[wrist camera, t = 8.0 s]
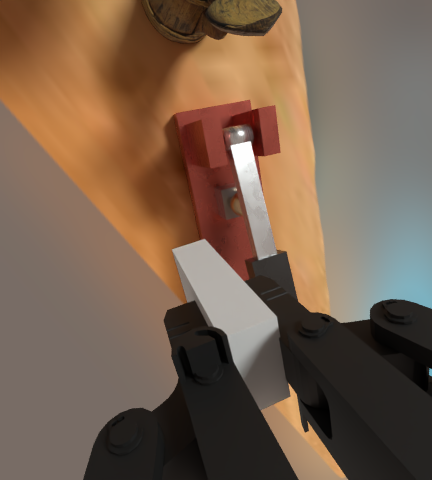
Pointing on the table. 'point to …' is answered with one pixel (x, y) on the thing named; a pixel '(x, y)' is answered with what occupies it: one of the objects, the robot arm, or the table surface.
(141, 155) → the table surface
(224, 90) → the table surface
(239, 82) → the table surface
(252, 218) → the nutcracker lever
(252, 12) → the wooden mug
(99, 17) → the table surface
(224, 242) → the nutcracker base
